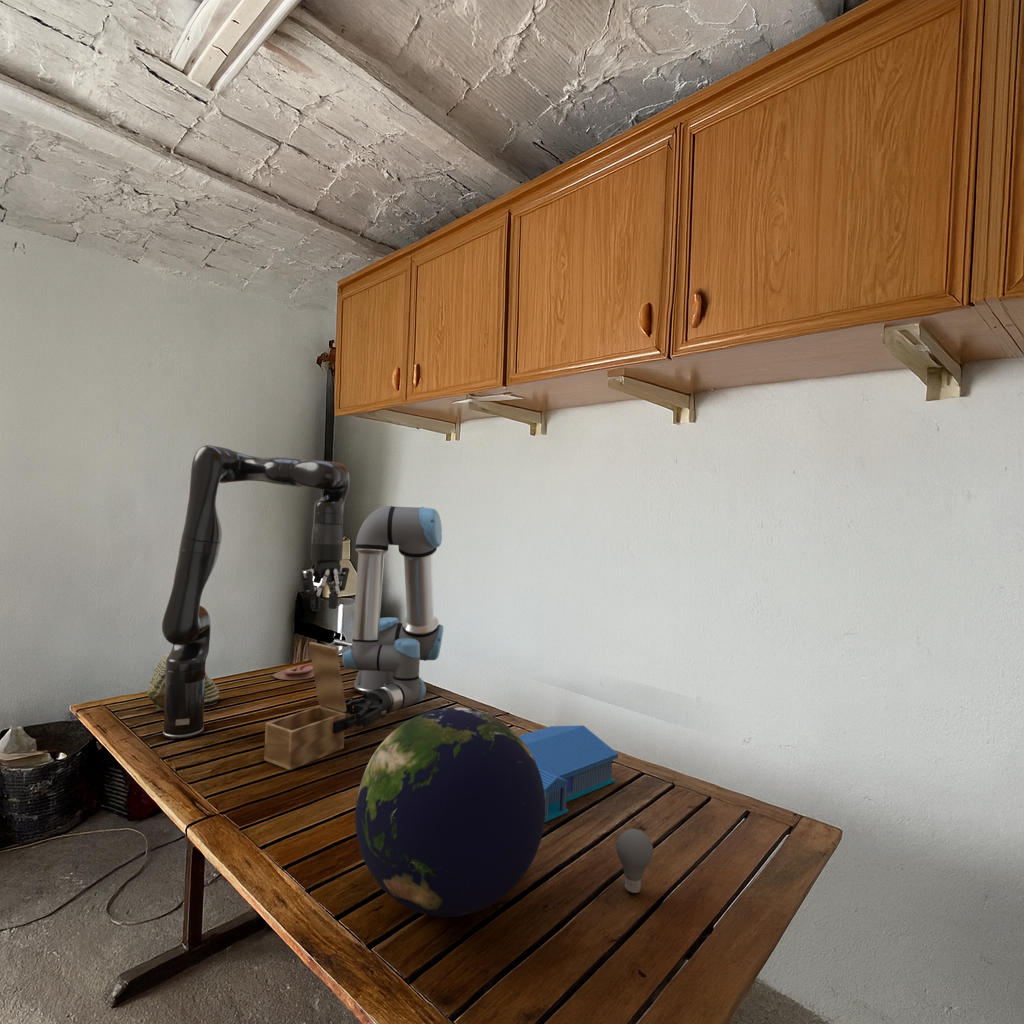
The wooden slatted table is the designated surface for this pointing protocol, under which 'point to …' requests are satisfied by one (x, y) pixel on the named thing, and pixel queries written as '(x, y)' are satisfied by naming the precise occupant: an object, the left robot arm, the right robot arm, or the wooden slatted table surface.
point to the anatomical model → (296, 673)
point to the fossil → (158, 687)
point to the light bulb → (634, 857)
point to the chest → (302, 737)
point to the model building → (569, 764)
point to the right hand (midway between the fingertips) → (320, 723)
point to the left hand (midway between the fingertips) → (324, 609)
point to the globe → (450, 812)
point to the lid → (329, 673)
